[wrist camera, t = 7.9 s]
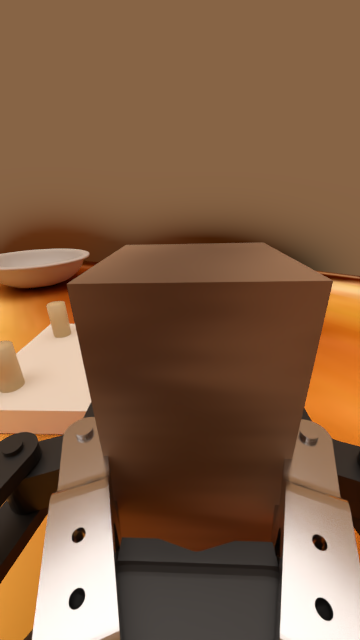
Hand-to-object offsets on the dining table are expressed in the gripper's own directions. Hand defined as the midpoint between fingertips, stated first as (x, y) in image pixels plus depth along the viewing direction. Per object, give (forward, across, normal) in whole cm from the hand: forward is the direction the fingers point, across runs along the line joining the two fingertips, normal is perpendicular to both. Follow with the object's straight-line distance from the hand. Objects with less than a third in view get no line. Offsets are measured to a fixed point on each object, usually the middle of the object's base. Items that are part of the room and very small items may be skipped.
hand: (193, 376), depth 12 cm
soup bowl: (+49, +36, +10) cm, 62 cm away
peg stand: (+13, +11, +10) cm, 20 cm away
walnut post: (-3, 0, +8) cm, 8 cm away
